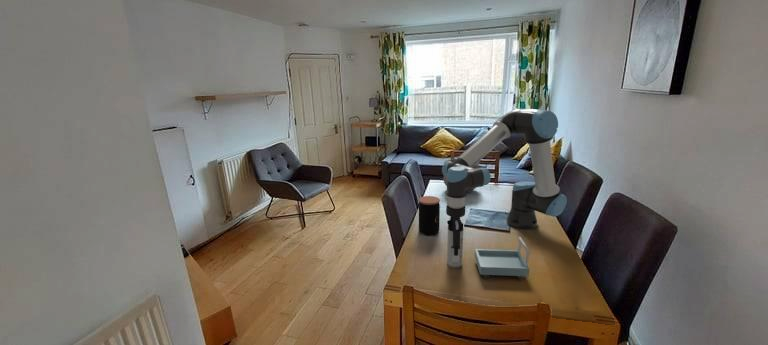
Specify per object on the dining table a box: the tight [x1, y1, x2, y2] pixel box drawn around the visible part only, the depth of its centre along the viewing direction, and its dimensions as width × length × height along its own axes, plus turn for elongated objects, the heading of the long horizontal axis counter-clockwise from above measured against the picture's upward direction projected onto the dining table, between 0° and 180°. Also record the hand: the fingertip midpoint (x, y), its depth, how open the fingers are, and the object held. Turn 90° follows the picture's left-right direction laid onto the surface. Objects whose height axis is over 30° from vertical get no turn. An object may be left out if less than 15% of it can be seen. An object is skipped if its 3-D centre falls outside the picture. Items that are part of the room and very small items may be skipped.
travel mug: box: [446, 219, 464, 270], centre depth 132 cm, size 6×7×20 cm
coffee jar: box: [418, 195, 441, 237], centre depth 163 cm, size 11×11×18 cm
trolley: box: [474, 236, 531, 281], centre depth 128 cm, size 18×14×12 cm
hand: (454, 255), depth 133 cm, fingers open, 9 cm apart
